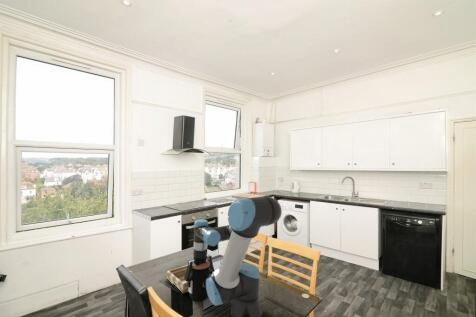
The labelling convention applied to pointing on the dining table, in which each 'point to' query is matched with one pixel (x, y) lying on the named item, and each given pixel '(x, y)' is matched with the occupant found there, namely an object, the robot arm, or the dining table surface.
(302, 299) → the dining table surface
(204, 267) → the coffee jar
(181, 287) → the walled box
